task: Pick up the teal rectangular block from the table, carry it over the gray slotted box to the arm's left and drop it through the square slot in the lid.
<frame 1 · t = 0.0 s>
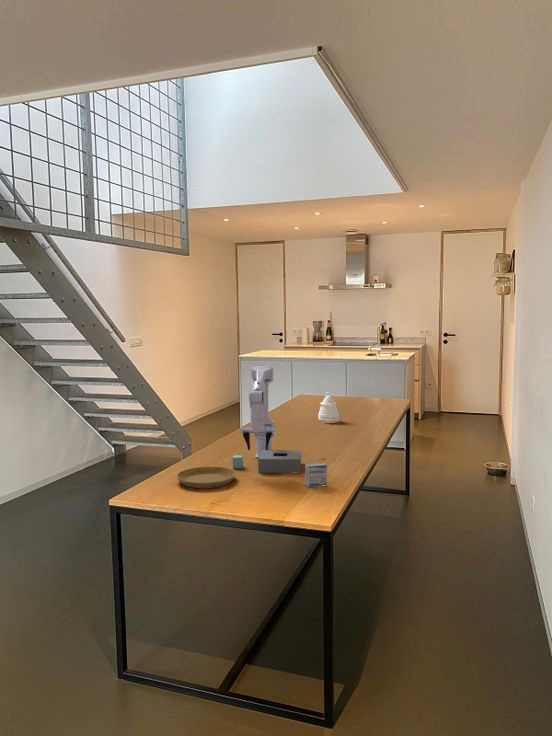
hand: (257, 449, 247), 10 cm above the table, tool pointing down, fingers open, 7 cm apart
honey pot: (328, 422, 357), on the table
plant saucer: (206, 482, 237), on the table
medicine box: (316, 486, 229), on the table
gray slotted box: (280, 467, 255), on the table
teal rectangular block: (237, 467, 257), on the table
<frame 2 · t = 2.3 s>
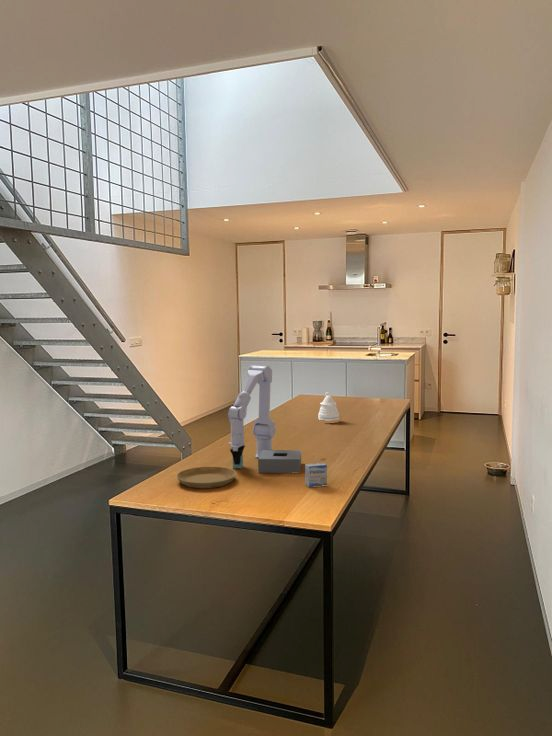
hand: (237, 463, 257), 2 cm above the table, tool pointing down, fingers closed on teal rectangular block, 4 cm apart
teal rectangular block: (237, 467, 257), on the table, touching gripper
everything else where it was.
when the fingers open (7 cm above the table, at t = 7.0 s): teal rectangular block drops 4 cm, resting on gray slotted box.
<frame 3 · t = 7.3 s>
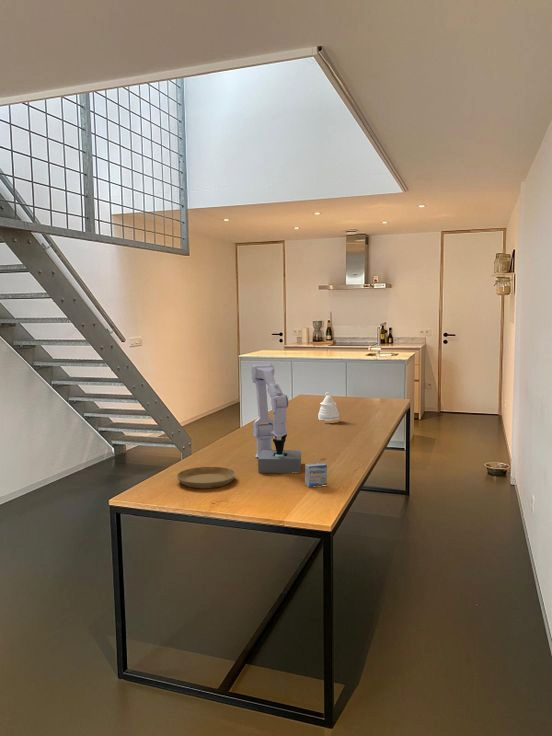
hand: (280, 452, 255), 7 cm above the table, tool pointing down, fingers open, 7 cm apart
teal rectangular block: (279, 466, 255), point 1 cm above the table, touching gray slotted box
everything else where it was.
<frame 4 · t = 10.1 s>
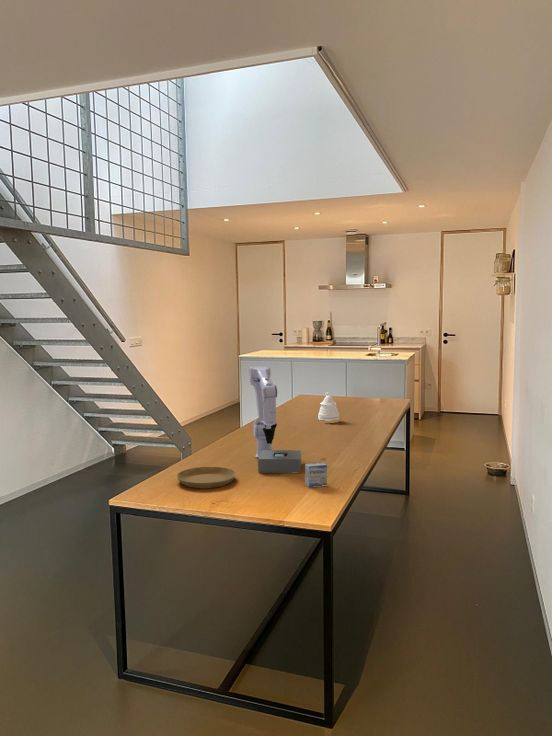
hand: (270, 441, 260), 10 cm above the table, tool pointing down, fingers open, 7 cm apart
nothing on the table moved.
at the end: teal rectangular block inside the target area on the gray slotted box (0.3 cm from its centre), point 0.6 cm above the gray slotted box's base; the gripper is holding nothing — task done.
